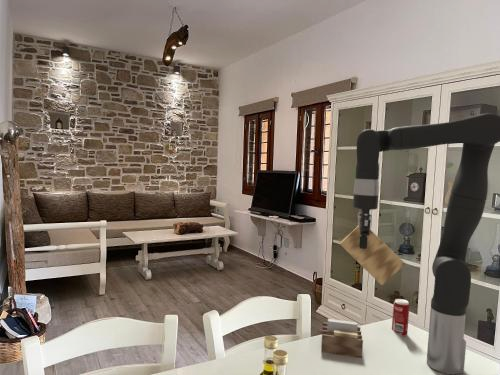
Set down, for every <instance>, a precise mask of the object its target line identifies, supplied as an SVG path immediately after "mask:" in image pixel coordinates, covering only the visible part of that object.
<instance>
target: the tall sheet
mask: <svg viewBox="0 0 500 375" xmlns="http://www.w3.org/2000/svg"><path fill="white" fill-rule="evenodd" d="M366 231H367V230H363V232H366ZM359 234H360V229H359V225H358V224H357V226H356V227H355V228H354V229H352V231H351V232H350V233H349V234H347V235H346V236H345V237H344V238H343V239H342V240H341V241H340V242H339V245H340V246H341V247H342V248H343V249H344V250H345V251H346V252H347V253H348V254H349V255H350V256H351V257H352V258H353V259H354V260H355V261H356V262H357V263H358V264H359V265H360V266H361V267H362V268H363V269H364V270H365V271H366V272H367V273H368V274H369V275H370V276H372V277H373V279H374V280H376V281H377V283H378V284H379V285H381V286H383V285H384V284H385V283H386V282H387V281H389V279H390V278H392V277H393V276H394V275H395V274H396V273H397V272H398V271H399V270H400V269H402V268H403V267H404V266H405V265H406V262H404V261H403V260H402V258H400V257H399V255H397V254H396V253H395V252H394V251H393V250H392V249H391V248H390V247H389V246H388V245H387V244H386V243H385V242H384V241H383V240H382V239H381V238H379V236H378V235H377V234H376V233H374V232H373V230H372V229H370V230H369V236H368V237H367V248H366V249H361V248H360V247H359V246H360V235H359Z"/></svg>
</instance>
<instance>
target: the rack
mask: <svg viewBox="0 0 500 375" xmlns="http://www.w3.org/2000/svg"><path fill="white" fill-rule="evenodd" d="M327 326H328V322H324V321H323V322H322V331H321V348H320V349H321V351H320V352H321V353H324V354H331V355H339V356H345V357H351V358H356V359H357V358H358V359H363V346H364V345H363V343H364V340H363V335H362V331H361V327H360V326H357V334H358V339H354V338H347V337H340V336H334V332H333V331H327Z"/></svg>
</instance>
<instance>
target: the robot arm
mask: <svg viewBox="0 0 500 375" xmlns="http://www.w3.org/2000/svg"><path fill="white" fill-rule="evenodd" d="M499 142H500V115H499V114H495V113H492V112H485V113H482V114H479V115H475V116H472V117H467V118H464V119H460V120H455V121H454V120H453V121H448V122H440V123H430V124H428V123H427V124H418V125H417V124H416V125H406V126H396V127H392V128H391V129H383V130H374V129H371V128H367V129H364V130H362V131H360V132H359V134H358V135H357V138H356V166H355V176H354V177H355V179H354V184H353V197H352V198H353V201H352V207H353V208H354V209H360V211H359V213H357V219H358V220H357V226H358V225H359V229H360V234H359V235H360V246H359V247H360V248H361V249H366V248H367V237H368V236H369V230H371V223H372V220H373V219H372V218H373V216H372V215H371V213H370V211H371V210H372V211H373V210H377V209H379V208H378V207H379V192H380V185H379V183H380V182H379V175H380V174H379V173H380V163H379V161H380V160H379V158H380V152H388V151H389V152H390V151H405V150H413V149H414V150H415V149H416V150H417V149H424V148H429V147H435V146H436V147H437V146H440V145H441V146H442V145H449V144H450V145H451V144H462V150H461V155H460V156H461V157H460V158H461V159H460V162H459V166H458V167H457V168H458V169H457V171H456V174H455V176H454V180H453V183H452V187H451V190H450V193H449V198H448V202H447V206H446V212H445V217H444V224H443V230H442V236H441V240H440V243H439V245H438V248H437V251H436V254H435V257H434V258H433V262H432V267H431V269H432V274H433V277H434V285H433V293H432V297H431V301H430V309H429V310H430V311H429V322H428V323H429V324H428V326H429V327H428V328H429V329H428V339H427V341H428V342H427V352H426V364H427V366H429V367H430V368H431V369H433V370H435V371H437V372H439V373H442V374H447V375H459V374H463V375H464V373H465V362H466V349H467V341H466V340H465V328H466V314H467V308H468V306H469V302H470V295H471V284H472V273H471V269H470V268H469V267H468V265H467V264H466V259H467V252H468V246H469V243H470V240H471V238H472V236H474V233H475V231H476V230H477V228H478V226H479V223H480V222H481V220H482V218H483V214H484V210H485V205H486V202H487V198H488V192H489V191H488V189H489V188H488V187H489V186H488V184H489V182H488V181H489V176H488V174H489V172H488V170H489V163H490V159H491V156H492V153H493V151H494V148H495V146H496V144H498V143H499ZM363 230H367V231H366V232H363Z"/></svg>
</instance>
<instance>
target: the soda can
mask: <svg viewBox="0 0 500 375" xmlns="http://www.w3.org/2000/svg"><path fill="white" fill-rule="evenodd" d="M392 308H393V309H392V323H391V330H392V331H393V332H396V333H398V334H401V336H402V338H405V337H407V336H408V330H409V329H408V328H409V320H410V319H409V318H410V317H409V316H410V304H409V301H408V300H406V299H402V298H395V299H394V302H393V307H392Z"/></svg>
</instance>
